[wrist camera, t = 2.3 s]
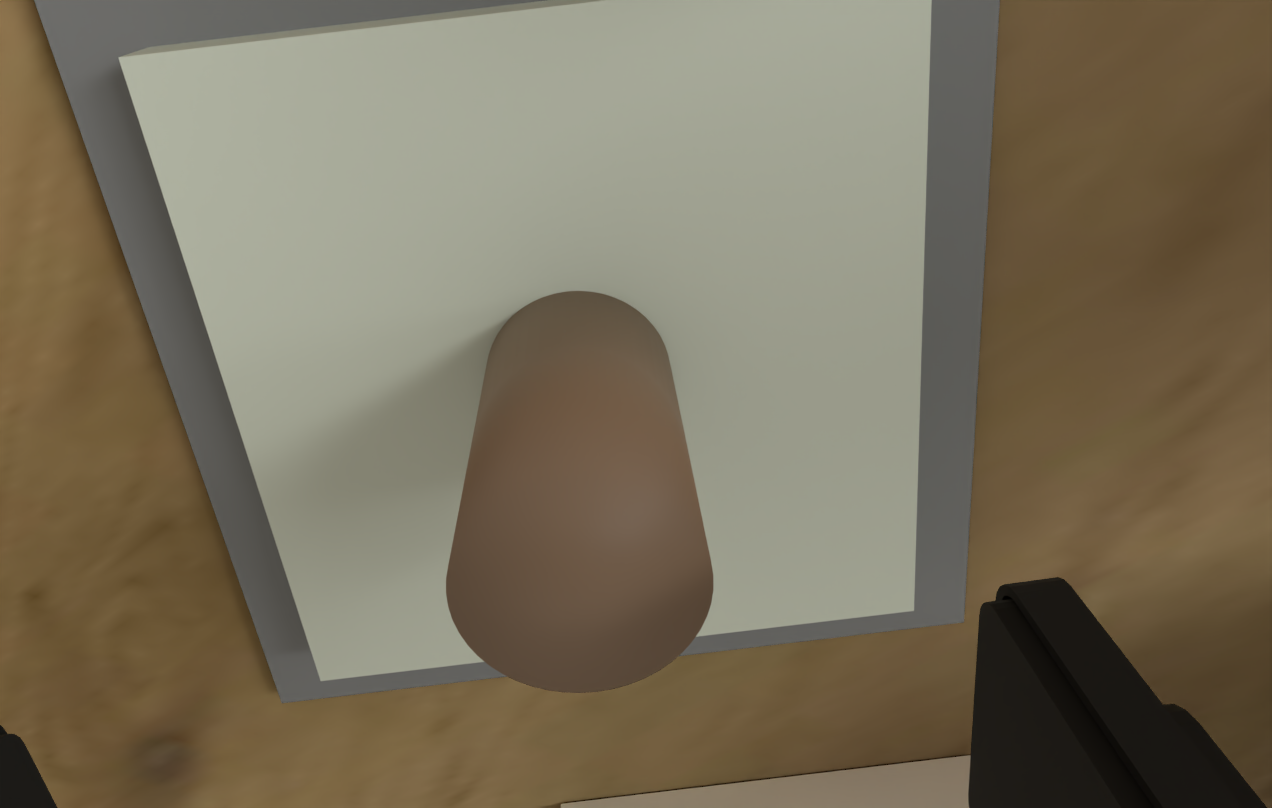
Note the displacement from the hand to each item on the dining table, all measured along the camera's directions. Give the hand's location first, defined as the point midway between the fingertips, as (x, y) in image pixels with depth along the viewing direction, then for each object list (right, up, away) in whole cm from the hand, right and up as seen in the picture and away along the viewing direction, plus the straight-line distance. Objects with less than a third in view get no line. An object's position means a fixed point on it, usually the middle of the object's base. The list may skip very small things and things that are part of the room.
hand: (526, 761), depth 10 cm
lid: (0, +5, +8) cm, 10 cm away
